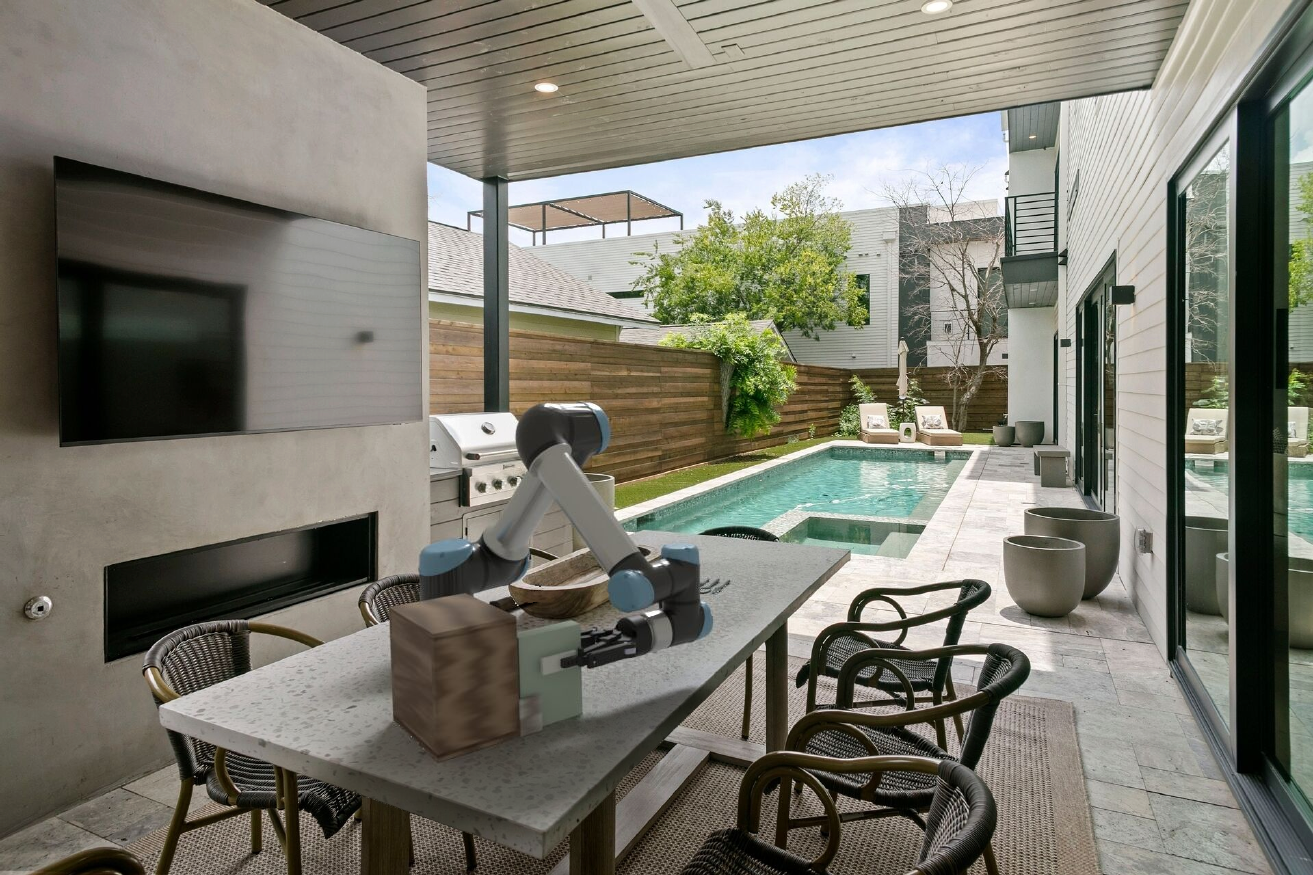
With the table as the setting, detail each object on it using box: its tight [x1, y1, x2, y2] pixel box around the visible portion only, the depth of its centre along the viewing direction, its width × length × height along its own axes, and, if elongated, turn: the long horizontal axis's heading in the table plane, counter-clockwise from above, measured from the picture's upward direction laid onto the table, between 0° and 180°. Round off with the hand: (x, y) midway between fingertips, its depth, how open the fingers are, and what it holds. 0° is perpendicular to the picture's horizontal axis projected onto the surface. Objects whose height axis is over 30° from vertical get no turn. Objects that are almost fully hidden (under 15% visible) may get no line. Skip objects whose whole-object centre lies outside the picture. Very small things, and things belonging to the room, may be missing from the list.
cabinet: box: [388, 593, 543, 763], centre depth 130 cm, size 18×20×20 cm
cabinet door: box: [517, 619, 584, 727], centre depth 131 cm, size 12×3×16 cm, turn 128°
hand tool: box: [488, 583, 542, 612], centre depth 204 cm, size 19×4×5 cm, turn 144°
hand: (533, 661), depth 130 cm, fingers open, 5 cm apart
